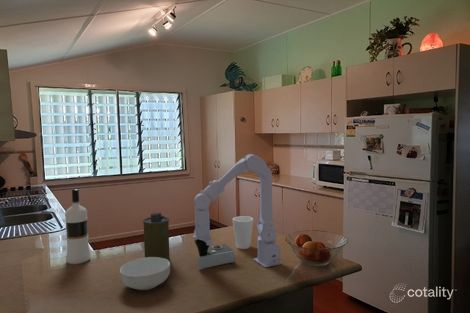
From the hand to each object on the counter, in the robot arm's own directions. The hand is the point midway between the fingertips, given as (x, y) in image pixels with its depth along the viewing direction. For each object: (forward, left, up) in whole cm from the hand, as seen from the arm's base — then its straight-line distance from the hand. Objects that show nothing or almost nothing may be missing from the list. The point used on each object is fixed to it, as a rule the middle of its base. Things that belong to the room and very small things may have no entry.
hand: (202, 257), depth 134 cm
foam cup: (+11, -24, -3) cm, 27 cm away
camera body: (+1, -7, -3) cm, 8 cm away
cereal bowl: (-7, +24, -3) cm, 25 cm away
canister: (+13, +15, -3) cm, 20 cm away
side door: (-4, -4, -2) cm, 6 cm away
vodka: (+29, +44, -3) cm, 53 cm away
